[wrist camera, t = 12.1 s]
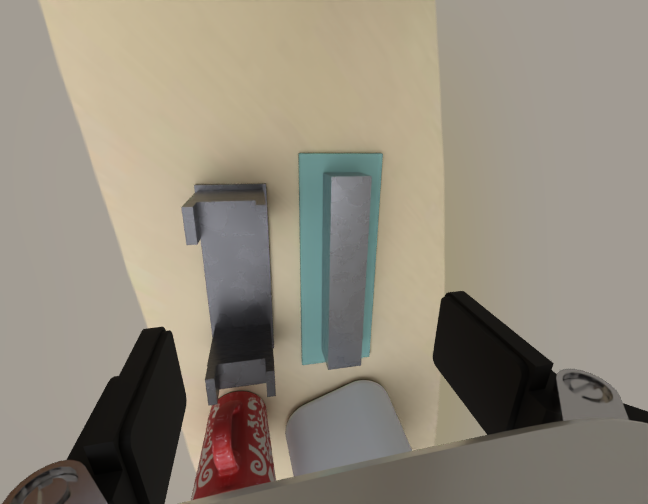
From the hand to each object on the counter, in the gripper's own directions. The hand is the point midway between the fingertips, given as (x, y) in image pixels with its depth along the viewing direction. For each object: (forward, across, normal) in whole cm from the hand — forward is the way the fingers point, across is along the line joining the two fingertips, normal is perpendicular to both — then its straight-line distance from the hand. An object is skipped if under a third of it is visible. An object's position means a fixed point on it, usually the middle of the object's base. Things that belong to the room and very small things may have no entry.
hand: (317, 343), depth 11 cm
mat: (+25, -7, +9) cm, 28 cm away
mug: (+25, +6, +27) cm, 37 cm away
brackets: (+25, +4, +9) cm, 27 cm away
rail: (+25, -7, +9) cm, 27 cm away
